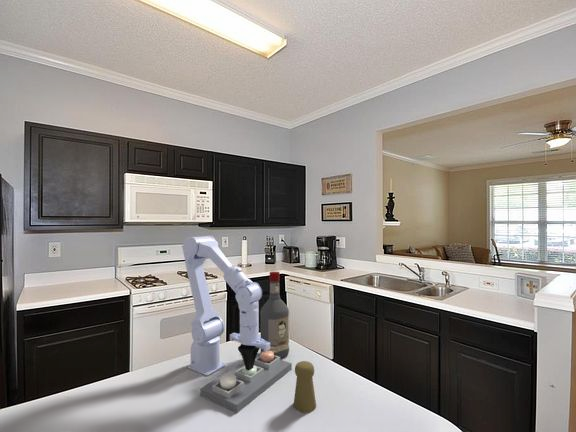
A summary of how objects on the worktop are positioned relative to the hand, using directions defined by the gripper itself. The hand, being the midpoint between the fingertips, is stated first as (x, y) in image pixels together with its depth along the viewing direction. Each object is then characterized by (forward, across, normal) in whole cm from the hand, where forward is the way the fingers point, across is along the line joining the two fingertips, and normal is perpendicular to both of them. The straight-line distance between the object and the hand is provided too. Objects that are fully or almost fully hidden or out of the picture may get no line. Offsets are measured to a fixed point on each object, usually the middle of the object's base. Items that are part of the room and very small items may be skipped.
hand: (249, 368), depth 89 cm
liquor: (+4, +4, -19) cm, 20 cm away
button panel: (+4, 0, 0) cm, 4 cm away
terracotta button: (+1, 0, -9) cm, 9 cm away
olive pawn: (+4, -20, +1) cm, 20 cm away
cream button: (+1, 0, +9) cm, 9 cm away
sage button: (+2, 0, 0) cm, 2 cm away
